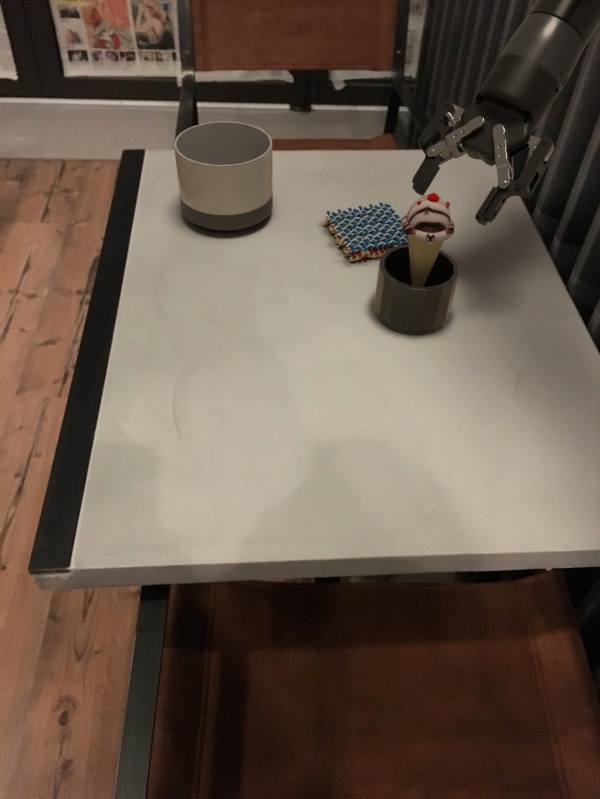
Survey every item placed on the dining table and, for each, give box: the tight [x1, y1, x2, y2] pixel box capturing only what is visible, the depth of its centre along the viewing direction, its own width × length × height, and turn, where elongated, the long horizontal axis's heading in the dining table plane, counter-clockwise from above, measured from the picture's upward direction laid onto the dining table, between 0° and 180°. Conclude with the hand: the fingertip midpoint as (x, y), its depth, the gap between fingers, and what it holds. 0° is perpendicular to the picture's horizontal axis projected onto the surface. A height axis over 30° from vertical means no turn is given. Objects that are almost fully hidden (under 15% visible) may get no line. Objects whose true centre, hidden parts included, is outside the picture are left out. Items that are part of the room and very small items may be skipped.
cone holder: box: [373, 244, 460, 336], centre depth 80 cm, size 9×9×6 cm
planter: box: [173, 120, 274, 231], centre depth 93 cm, size 13×13×10 cm
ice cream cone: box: [401, 192, 455, 287], centre depth 77 cm, size 6×6×15 cm
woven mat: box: [323, 202, 409, 263], centre depth 93 cm, size 10×11×2 cm
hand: (447, 206), depth 76 cm, fingers open, 8 cm apart
